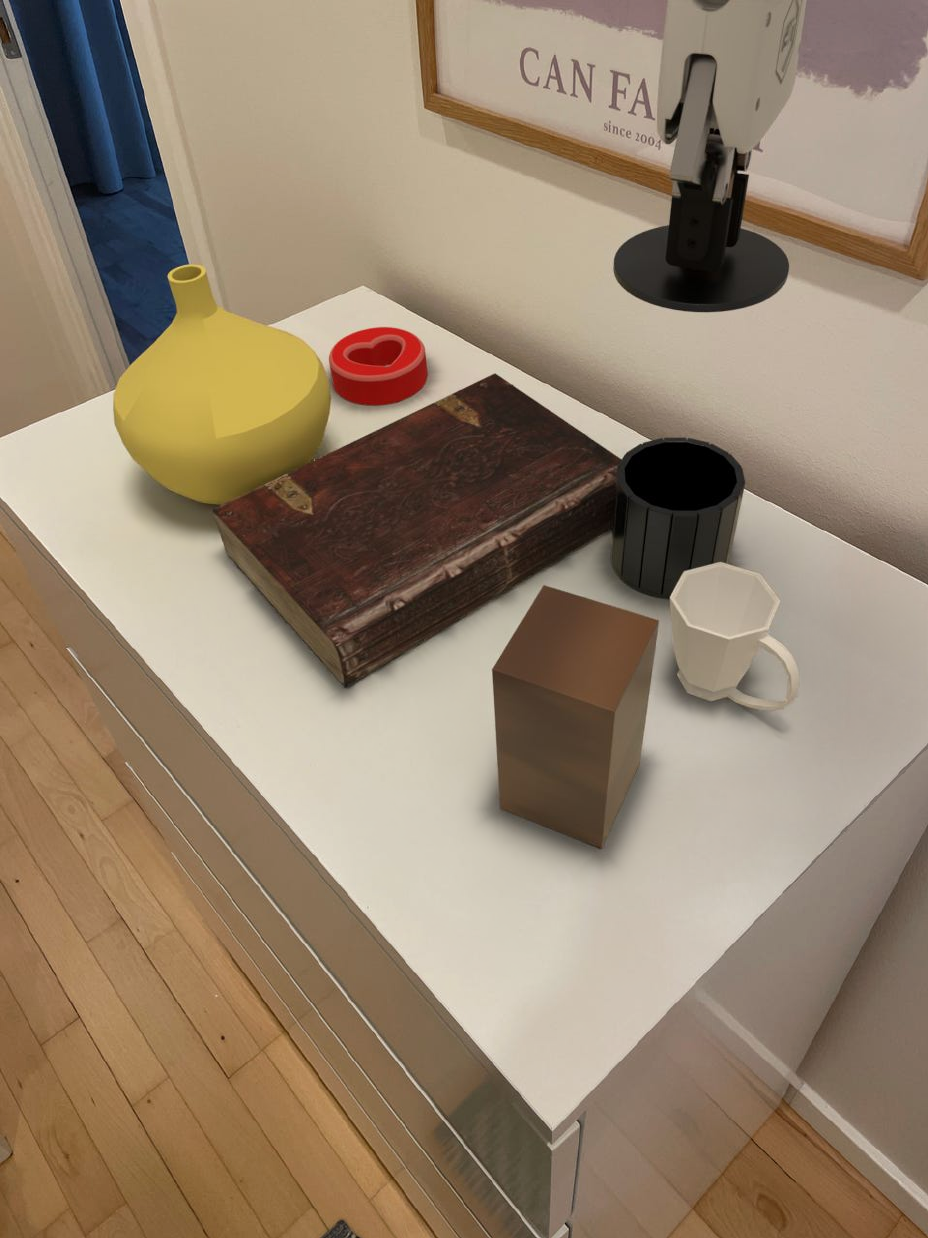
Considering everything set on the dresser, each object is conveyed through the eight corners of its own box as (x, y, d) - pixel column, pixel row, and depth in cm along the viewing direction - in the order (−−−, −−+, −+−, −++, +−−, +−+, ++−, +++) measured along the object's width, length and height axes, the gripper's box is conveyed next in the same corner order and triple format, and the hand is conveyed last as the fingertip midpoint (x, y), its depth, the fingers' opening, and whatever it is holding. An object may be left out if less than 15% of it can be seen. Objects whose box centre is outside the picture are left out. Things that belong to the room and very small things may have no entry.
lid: (805, 244, 57) (825, 148, 53) (762, 326, 51) (781, 225, 47) (645, 220, 60) (653, 128, 56) (588, 294, 54) (592, 197, 50)
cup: (703, 625, 70) (718, 546, 65) (815, 705, 65) (843, 626, 59) (637, 674, 68) (647, 595, 62) (748, 761, 62) (770, 684, 56)
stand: (640, 763, 63) (659, 619, 52) (601, 849, 58) (614, 712, 48) (542, 728, 65) (543, 584, 55) (499, 808, 61) (491, 669, 51)
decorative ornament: (380, 417, 91) (375, 389, 89) (313, 383, 96) (308, 355, 94) (447, 372, 96) (444, 344, 94) (380, 342, 101) (377, 315, 98)
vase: (285, 555, 79) (229, 351, 65) (102, 514, 84) (14, 317, 70) (374, 428, 90) (344, 232, 76) (209, 399, 95) (152, 210, 81)
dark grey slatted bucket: (741, 538, 77) (759, 453, 71) (707, 613, 71) (723, 529, 65) (633, 509, 80) (641, 426, 74) (593, 579, 74) (598, 496, 68)
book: (347, 689, 68) (336, 644, 65) (227, 555, 79) (212, 509, 75) (636, 516, 79) (641, 468, 76) (496, 418, 90) (495, 373, 86)
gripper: (798, -110, 35) (727, 335, 49) (878, -183, 45) (800, 205, 58) (608, -115, 38) (590, 309, 51) (722, -183, 47) (681, 189, 61)
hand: (702, 251), depth 55 cm, fingers closed on lid, 2 cm apart
